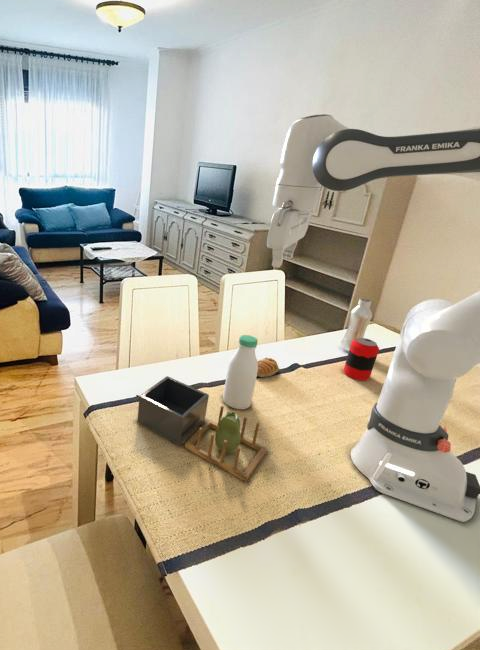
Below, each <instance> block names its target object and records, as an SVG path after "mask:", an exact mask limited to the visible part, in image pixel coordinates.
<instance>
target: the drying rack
mask: <svg viewBox="0 0 480 650" xmlns="http://www.w3.org/2000/svg"><path fill="white" fill-rule="evenodd" d="M224 409H225V406H224V405H220V409H219V413H218V414H219V415H218V420H217V422H216V421H213V420H211V419H208V420H207V421H206V422H205V423H204V424H203V425H202V426H201V427H198V430H196V432H195V433H194V434H193V435H192V436H191V437H189V439H188V440H187V442H185V444H184V448H185V449H186V450H188V451H190V452H192V453H193V454H195V455H197V456H199V457H200V458H203V459H204V460H206V461H208V462H210V463H211V464H213V465H215V466H217V467H219V468H220V469H222V470H224V471H226V472H228V473H229V474H231V475H233V476H234V477H236V478H238V479H239V480H241V481H244V482H248V480H249V478H250V477H251V475H252V474H253V472H254V470H255V469H256V468H257V466H258V465H259V463H260V462H261V460H262V459H263V457H264V456H265V454H266V453H267V449H268V448H267V447H266V446H264V445H262V444H260V443H258V442H257V438H258V434H259V429H260V425H261V424H260V422H259V421H257V422H256V424H255V429H254V432H253V436H252V439H250V438H248V437H246V436H244V435H245V431H246V426H247V422H248V417H247V416H246V415H245V416H244V417H243V421H242V426H241V429H240V433H241V440H240V443H242V444H243V445H246V446H248V447H250V448H251V449H254V450H256V451H257V454H256V455H255V456H254V458H253V459H252V461H251V462H250V463H249V465H248V466H247V468H246V470H244V471H242V470H240V469H238V468H237V467H238V463H239V457H240V452H241V450H242V449H241V446H238V447H237V449H236V451H235V454H234V455H235V456H234V461H233V465H231V464H229V463H227V462H226V461H224V460H225V456H226V453H225V451H226V446H227V440H224V443H223V449H222V451H221V453H220V458H219V457H216V456H215V455H212V452H213V447H214V442H215V433H211V434H210V439H209V447H208V451H205V450H204V449H201V448H200V446H201V441H202V436H203V435H204V434H205V433H206V432H207V431H208V430H209V429H210V428H212V429H214V430H215V431H217V429H218V427H219V426H220V423H219V421H220V419H221V418H223V414H224ZM233 412H234V413H235V414H236V411H235V410H232V412H231V413H233ZM194 444H196V445H194Z"/></svg>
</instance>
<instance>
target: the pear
mask: <svg viewBox="0 0 480 650" xmlns="http://www.w3.org/2000/svg"><path fill="white" fill-rule="evenodd" d="M219 423H220V426H219V427H218V429H217V430H215V431H216V432H215V435H214V442H215V445H216V447H217V449H218V450H219V451H220V452H222V449H223V443H224V440H227V446H226V451H225V454H232V453H234V452H236V450H237V447H240V444H241V442H240V440H241V421H240V418H239V416H238V414H237V413H236V412H235V413H234V412H233V413H232V412H231V411H227V412H226V413H225V415H224V416H222V418H221V419H220V421H219Z"/></svg>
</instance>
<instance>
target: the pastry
mask: <svg viewBox="0 0 480 650" xmlns="http://www.w3.org/2000/svg"><path fill="white" fill-rule="evenodd" d="M257 363H258V371H257V377H260V378H266V377H267V378H269V377H272V376H273V375H276V374H277V373H278V372H279V371H280V368H279V364H278V362H277V361H276V360H275V359H274V358H271V357H270V358H269V357H265V358H262V359H259V360H257Z"/></svg>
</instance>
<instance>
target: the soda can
mask: <svg viewBox="0 0 480 650" xmlns="http://www.w3.org/2000/svg"><path fill="white" fill-rule="evenodd" d="M379 351H380V348H379V345H378V343H377V342H376V341H374V340H372V339H370V338H366V337H364V338H357V339H356V340H354V341H352V343H351V346H350V350H349V351H348V354H347V357H346V360H345V364H344V366H343V369H342V370H343V373H344V374H345V375H346V376H347V377H348V378H351V379H353V380H356V381H368V380H370V379H371V375H372V372H373V369H374V366H375V364H376V361H377V360H376V359H377V357H378V355H379Z"/></svg>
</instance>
